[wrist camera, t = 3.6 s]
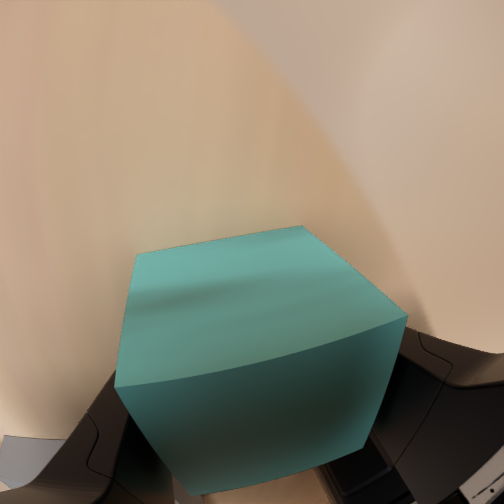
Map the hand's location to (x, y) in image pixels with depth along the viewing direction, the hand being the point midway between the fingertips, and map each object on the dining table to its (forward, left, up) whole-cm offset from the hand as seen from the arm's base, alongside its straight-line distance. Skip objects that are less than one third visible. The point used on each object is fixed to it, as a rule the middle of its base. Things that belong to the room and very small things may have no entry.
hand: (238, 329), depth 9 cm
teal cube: (0, 0, -1) cm, 1 cm away
